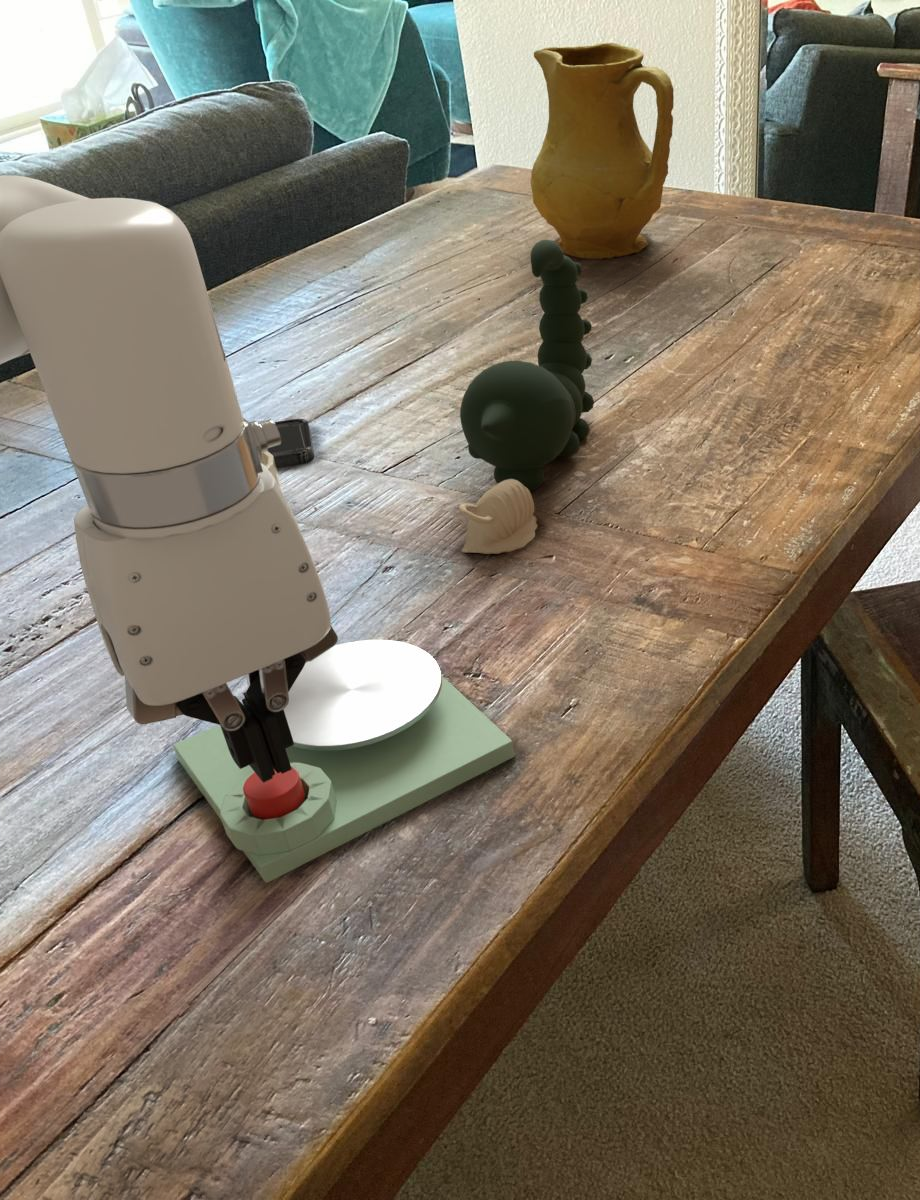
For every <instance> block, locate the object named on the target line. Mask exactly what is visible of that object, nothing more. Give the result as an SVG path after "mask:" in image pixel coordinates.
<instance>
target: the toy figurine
mask: <svg viewBox="0 0 920 1200" xmlns="http://www.w3.org/2000/svg"><path fill="white" fill-rule="evenodd" d="M530 265H531V272H532V275H533V276H534V277H535V278H539V277H540V279H541V282H542V283H543V285H542V287H541V289H540V291H539V299H538V301H539V304H540V308H541V310H542V312H543V315H542V316H541V318H540V320H539V326H538V330H539V334H540V338H541V340H542V342H541V343H540V346H539V347H538V351H537V364H535V363H533V362H529V361H523V360H506V361H505V360H504V361H502V362H498V363H494V364H492V365H490V366H488V367H487V368H485V369H483V370H482V371H481V372H479V373H478V374H477V375H476V376H475V377H474V378H473V379H472V381H471V382H470V383H469V384H468V386H467V388H466V390H465V392H464V394H463V397H462V400H461V404H460V408H459V409H460V410H459V418H460V425H461V429H462V432H463V435H464V437H465V440H466V442H467V444H468V449H467V450H468V453H469V455H470V456H471V457H472V458H474V459H478V460H482V461H484V462H485V463H488V464H490V465H492V466H493V467H495V468H494V471H493V477H494V481H495V483H496V484H498V483H500V482H502V481H504V480H508V479H514V480H517V481H519V482H520V483H522V484H523V485H524V486H525V487H526V488H528V490H529V491H530V492H532V491H536V490H537V489H538V488H539V487H541V485H542V484H543V481H544V475H545V474H544V469H543V468H542V467H543V466H545V465H547V464H549V463H551V462H552V461H554V460H555V459H556V458H557V457H558V456H560V457H561V458H571V457H573V456H574V455H576V454H578V451H579V449H580V447H581V442H580V441H582V440H584V439H586V438H587V437H588V436H589V433H590V426H589V424H588V422H587V421H586V419H584V418H581V417H582V414H583V413H589V412H590V411H591V410H593V408H594V404H595V399H594V397H593V396H592V394H590V393H589V392H587V391H586V382H585V378H584V375H583V373H584V371H585V370H588V369H589V368H590V367H591V366H592V361H593V358H592V356H591V354H590V353H588V352H587V351H586V349H585V346H584V344H583V343H582V341H583V339H584V337H585V335H588V334H589V333H591V332H592V328H593V327H592V323H591V321H590V320H588V319H585V318H584V319H583V318H582V316H581V315H580V314H579V311H580V310H581V306H582V305H583V304H585V303H587V300H588V299H589V298H588V297H589V296H588V292H587V291H586V290H585V289H584V288H582V287H578V285H577V284H576V283H577V282H578V277H579V276H580V275H581V274H582V272H583V266H582V265H581V263H580V262H578V261H573V260H572V259H571V258H570V256H567V255H566V254H565V253H563V250H562V248H561V247H560V246H559V245H558V243H557V241H554V240H550V239H541V240H540V241H538V242H536V243H535V244H534V245H533V246H532V248H531V252H530Z"/></svg>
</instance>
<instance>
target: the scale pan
mask: <svg viewBox="0 0 920 1200" xmlns="http://www.w3.org/2000/svg"><path fill="white" fill-rule="evenodd" d="M442 676H443V675H442V671H441V668H440V666H439V663H438V662H437V660H436V659H435V658H434V657H433V656H432V655H431V654H430V653H428V651H426V650H425V649H422V648H421V647H419V646H416V645H413V644H411V643H408V642H404V641H399V640H391V639H365V640H363V639H361V640H355V641H349V642H344V643H340V644H335V645H334V646H333V647H332V648H330V649H329V650H327V651H326V652H324V653H323V654H321V655H320V656H318V657H317V658H315V659H314V660H312V661H311V662H309V661H308V662H306V663H305V665H304V667H303V669H302V671H301V672H300V674H299V676H298V677H297V679H296V681H295V682H294V684H293V685H292V687H291V689H290V690H289V692H288V695H289V703H288V705H287V706H286V708H284V712H285V716H286V719H287V722H288V725H289V728H290V732H291V735H292V738H293V742H294V745H292V746H294V747H297V748H302V749H307V750H317V751H336V750H346V749H352V748H358V747H362V746H366V745H370V744H373V743H376V742H379V741H382V740H384V739H387V738H389V737H391V736H394V735H396V734H398V733H400V732H401V731H403V730H405V729H407V728H408V727H410V726H411V725H413V724H414V723H416V722H417V721H418V720H419V719H421V718H422V717H423V716H424V715H425V714H426V713H427V712H428V711H429V710H430V709H431V707H432V706H433V705H434V704H435V702H436V700H437V699H438V697H439V694H440V691H441V687H442Z"/></svg>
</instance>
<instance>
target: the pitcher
mask: <svg viewBox="0 0 920 1200" xmlns="http://www.w3.org/2000/svg"><path fill="white" fill-rule="evenodd" d="M533 58H534V59H535V60H536V62H537V63H538V65H539V66H540V68H541V70H542V73H543V77H544V80H545V84H546V91H547V96H548V97H547V99H548V123H547V127H546V128H547V129H546V133H545V136H544V139H543V141H542V145H541V148H540V150H539V153H538V155H537V156H536V159H535V161H534V163H533V166H532V169H531V176H530V187H531V188H530V189H531V192H532V203H533V204H534V206H535V207H536V210H537V211H538V213H539V215H540V216H541V217H542V218H543V219H544V220H545V222H546V223H547V224H548V225H549V226H552V227H553V229H555V231H556V233H557V234H558V236H559V237H560V239H559V240H558V241H556V243H557V244H558V245H559V246H560V247H561V248H562V250H563V254H564V255H566V256H567V255H568V256H569V257H570V256H571V257H573V258H574V257H575V258H579V259H587V260H593V259H594V260H596V259H597V260H602V259H614V257H615V258H619V257H622V256H624V257H625V256H628V255H632V254H634V253H635V254H636V253H640V252H641V251H642V250H643V249H645V248H647V247H648V246H649V244H648V240H647V239H646V238H645V236H642V235H641V232H642V230H643V229H644V228H645V227H646V226H647V224H649V222H650V221H651V220H652V217H653V215H654V214H655V213H656V212H657V211H659V209H661V206H662V197H663V190H664V184H665V182H666V179H667V176H668V174H669V158H670V153H671V147H670V145H671V139H672V137H673V127H674V125H673V124H674V116H673V115H672V111H673V110H674V103H675V102H674V98H675V97H674V87H673V83H672V80H671V77H670V75H668V73H667V72H666V71H664V70H663V69H661V68H659V67H658V66H647V65H646V66H645V65H643V63H642V62H643V61H644V53H643V52H642V50H640V49H638V48H634V47H629V46H626V45H622V44H619V43H614V42H603V43H602V42H601V43H596V44H594V45H583V46H582V45H581V46H580V45H578V46H562V47H560V46H559V47H558V46H552V47H544V48H542V49H538V50H535V51H533ZM642 83H644V84H647V85H649V86H651V88H652V89H653V90H654V92H655V97H656V98H655V102H656V108H657V117H656V128H655V133H654V142H653V147H652V151H651V149H650V147H649V146H648V144H647V143H646V142H645V140H644V139H643V137H642V135H641V132H640V128H639V125H638V122H637V117H636V114H635V108H634V102H635V101H634V100H635V94H636V92H637V91H638V89H639V87H640V86H641V84H642Z"/></svg>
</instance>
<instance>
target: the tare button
mask: <svg viewBox="0 0 920 1200" xmlns="http://www.w3.org/2000/svg"><path fill="white" fill-rule="evenodd" d="M291 768H292V769H291V770H290V771H287V772H285V773H283V774H282V773H281V772H280V773H277V772H276V771H275V770H274V772H275V775H273V778H272V779H270V780H268V781H266V782H264V783H263V782H262V781H261V779H260V778H259V777H258V776H257V774H256V773H253V774H252V775H251V776H250V777H249V778H248V779H247V780H246V781H245V783H244V786H243V792H244V795H245V798H246V801H247V804H248V806H249V809H250V812H251V813H252V814H253V815H254V816H255V817H257V818H260V819H273V818H280V817H282V816H284V815H286V814H289V813H291V812H293V811H295V810H296V809H298V808H299V807H300V805H301V804H302V803H303V801H304V797H305V792H304V789H303V786H302V783H301V779H300V776H299V773H298V771H297V770H296V769H295V768H293V767H291Z"/></svg>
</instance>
